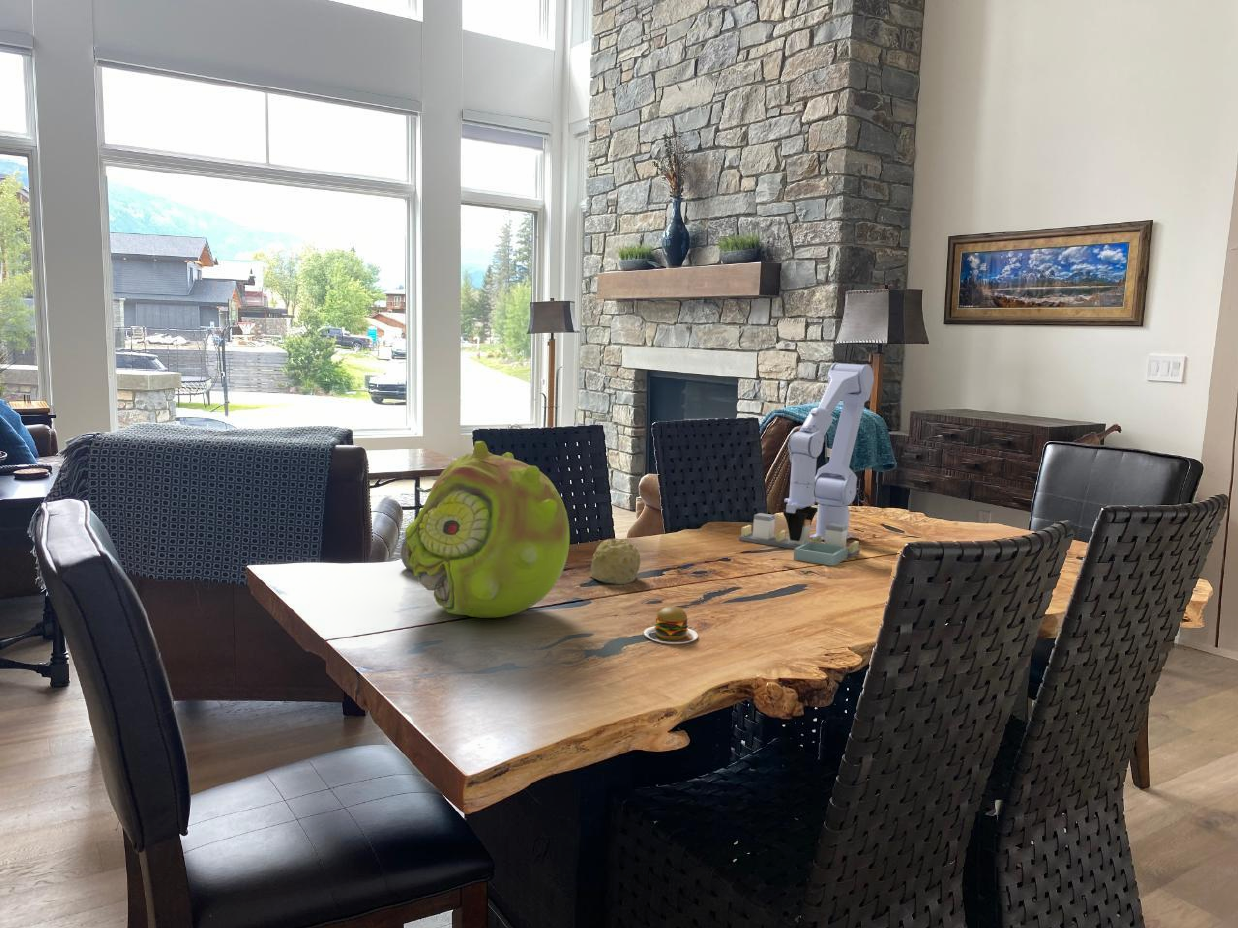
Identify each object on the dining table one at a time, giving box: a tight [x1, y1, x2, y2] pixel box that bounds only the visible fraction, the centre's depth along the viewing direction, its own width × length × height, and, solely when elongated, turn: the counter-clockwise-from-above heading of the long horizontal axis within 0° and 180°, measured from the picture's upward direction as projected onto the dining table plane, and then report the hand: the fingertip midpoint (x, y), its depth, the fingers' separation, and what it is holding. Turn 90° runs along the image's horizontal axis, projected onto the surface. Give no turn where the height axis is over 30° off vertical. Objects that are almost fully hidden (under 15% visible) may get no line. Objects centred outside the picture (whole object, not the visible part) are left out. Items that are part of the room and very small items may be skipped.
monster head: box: [404, 440, 571, 619], centre depth 161 cm, size 31×28×30 cm
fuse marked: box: [787, 519, 811, 545], centre depth 227 cm, size 4×4×6 cm
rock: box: [589, 538, 641, 585], centre depth 191 cm, size 10×11×10 cm
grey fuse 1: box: [752, 512, 776, 540], centre depth 232 cm, size 4×4×6 cm
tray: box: [793, 540, 849, 567], centre depth 216 cm, size 10×9×2 cm
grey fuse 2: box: [824, 523, 847, 547], centre depth 223 cm, size 4×4×6 cm
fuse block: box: [738, 524, 861, 559], centre depth 227 cm, size 6×28×3 cm, turn 59°
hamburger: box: [643, 605, 699, 645], centre depth 155 cm, size 12×12×6 cm
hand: (798, 538), depth 227 cm, fingers open, 5 cm apart
